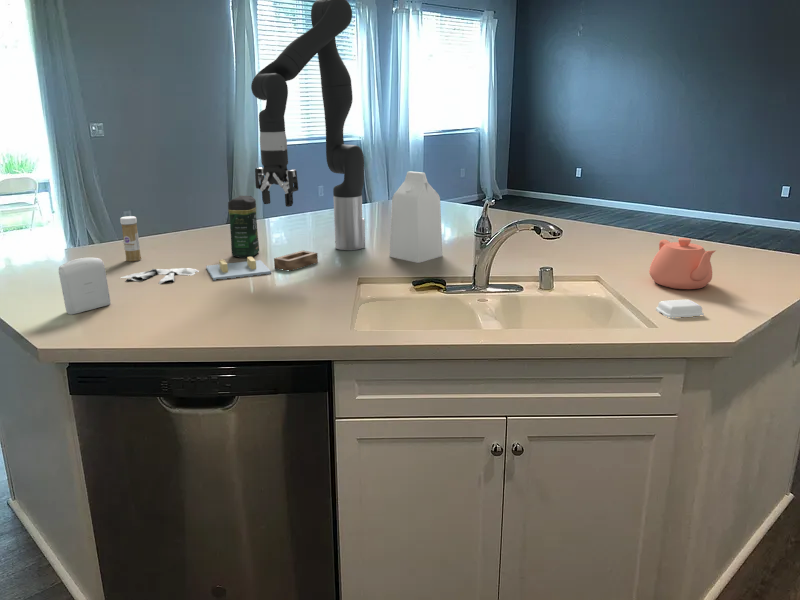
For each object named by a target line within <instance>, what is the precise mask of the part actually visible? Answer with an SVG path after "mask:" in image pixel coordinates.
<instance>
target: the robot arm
mask: <svg viewBox="0 0 800 600" xmlns="http://www.w3.org/2000/svg"><path fill="white" fill-rule="evenodd" d="M310 9H311V11H310V19H311V26H312V27H311V28H310V29H308V30H307V31H306V32H304V33H303V34H301V35H300V36H298V37H296V38H295V39H294V40H293V41H291V43H289V44H288V45H287V46H286V47H285V48H284V49H283V50H282V51H281V53H280V54H279V55H278V56H277V57H276V59H275V60H273V61H272V62H270V63H269V64H268V65H267V66H265V67H263V68H262V69H261V70H260V71H258V72H257V73H256V75H255V76H254V77H253V79H252V81H251V84H250V85H251V87H250V88H251V92H252V95H253V96H254V97H255V98H256V99H257V100H260V101H266V102H265V108H264V109H263V110H260V112H259V114H258V122H259V123H258V126H259V146H260V147H259V149H260V161H261V165H262V166H261V167H256V168H255V169H254V174H255V176H254V177H255V181H254V182H255V188H256V189H258V190H260V191H261V198H262V202H263V204H264V205H269V204H271V195H270V194H271V193H270V192H271V191H270V188H271V187H272V185H278V186H279V187H280V188H281V189H282V190H283V191H284V193H285V194H284V201H285V202H284V203H285V207H292V206H293V205H294V193H295V192H297V191H299V182H298V172H297V170H296V169H290V170H288V165H289V156H288V155H289V152H288V142H287V141H288V140H287V135H286V122H285V114H286V110H287V102H288V96H289V90H288V89H289V87H288V83H287V82H289V81H292V80H294V79H295V78H296V77H297V76H298V75H299V74H300V73H301V71H302V70H303V69H304V68H305V67H306V65H308V63H309V62H310V61H311V60H312V59H313V58H314V57H315V56H316V55H317V57H318V59H317V60H318V65H319V74H320V85H321V86H320V88H321V95H322V103H323V104H322V105H323V111H324V113H323V114H324V124H325V125H324V126H325V156H326V157H325V159H326V164H327V167H328V169H329V171H331V172H332V173H334V174H339V175H343V181H342V182H341V183H340V184H338V185H337V184H336V185H334V187H333V188H332V189H333V190H332V193H333V197H332V198H333V217H334V220H333V221H334V246H335V247H334V248H335V249H337V250H340V251H356V250H360V249H365V248H366V225H365V224H366V219H365V218H363V217H364V216H363V188H364V183H365V156H364V151H363V149H362V148H361V147H360V146H359V145H356V144H345V142H344V128H345V123H346V119H347V117H348V115H349V112H350V111H351V108H352V105H353V87H352V79H351V75H350V73H349V71H348V68H347V66H346V65H345V62H344V61H343V59H342V57H341V56H340V53H339V51H338V47H337V42H336V37H338V35H340V34H341V33H342V32H343V31H345V30H346V29H347V28H348V27H349V26H350V25H351V22H352V19H353V10H352V7H351V4H350V3H349V1H348V0H315V1H314V2H313V4H312V6H311V8H310Z"/></svg>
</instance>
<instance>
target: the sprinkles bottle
mask: <svg viewBox="0 0 800 600" xmlns="http://www.w3.org/2000/svg"><path fill="white" fill-rule="evenodd" d="M137 220H138V219H137V217H136V216H133V215H129V216H128V215H127V216H122V217H120V218H119V221H120V224H121V230H122V236H123V237H122V238H123V247H124V252H125V261H126V262H132V263H133V262H138V261H140V260H142V256H141V246H140V240H139V238H140V237H139V232H138V225H137V222H138V221H137Z"/></svg>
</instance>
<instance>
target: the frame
mask: <svg viewBox="0 0 800 600" xmlns="http://www.w3.org/2000/svg"><path fill="white" fill-rule="evenodd" d="M318 258H319V257H318V252H314V251H308V250H303V249H302V250H298V251H296V252H292V253H289V254H285V255H280V256H277V257H275V258H273V261H274V262H273V264H274V269H276V268H277V270H280V269H283V270H282V271H285V270H289V271H288V272H291V271H290V270H292V271H294V270H293V269H295V270H298V269H297V268H299V269H302V268H305V267H308V265H309V266H311V264H312V265H315V264H318V263H319V259H318ZM314 263H315V264H314ZM304 266H305V267H304ZM301 267H302V268H301Z"/></svg>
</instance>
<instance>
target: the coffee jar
mask: <svg viewBox="0 0 800 600" xmlns="http://www.w3.org/2000/svg"><path fill="white" fill-rule="evenodd" d="M227 211H228V217H229V226H230V230H229V231H230V244H231V247H230V248H231V249H230V250H231V256H233V257H237V258H239V259H240V258H243V259H244V258H247V257H254V256H256V255H258V253H259V252H260V244H259V242H260V241H259V233H258V231H259V230H258V223H257V222H258V221H257V202H256V198H255V197H253V196H251V195H238V197H237V196H236V197H235V198H232V199H231V200H229V201H228V202H227Z"/></svg>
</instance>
